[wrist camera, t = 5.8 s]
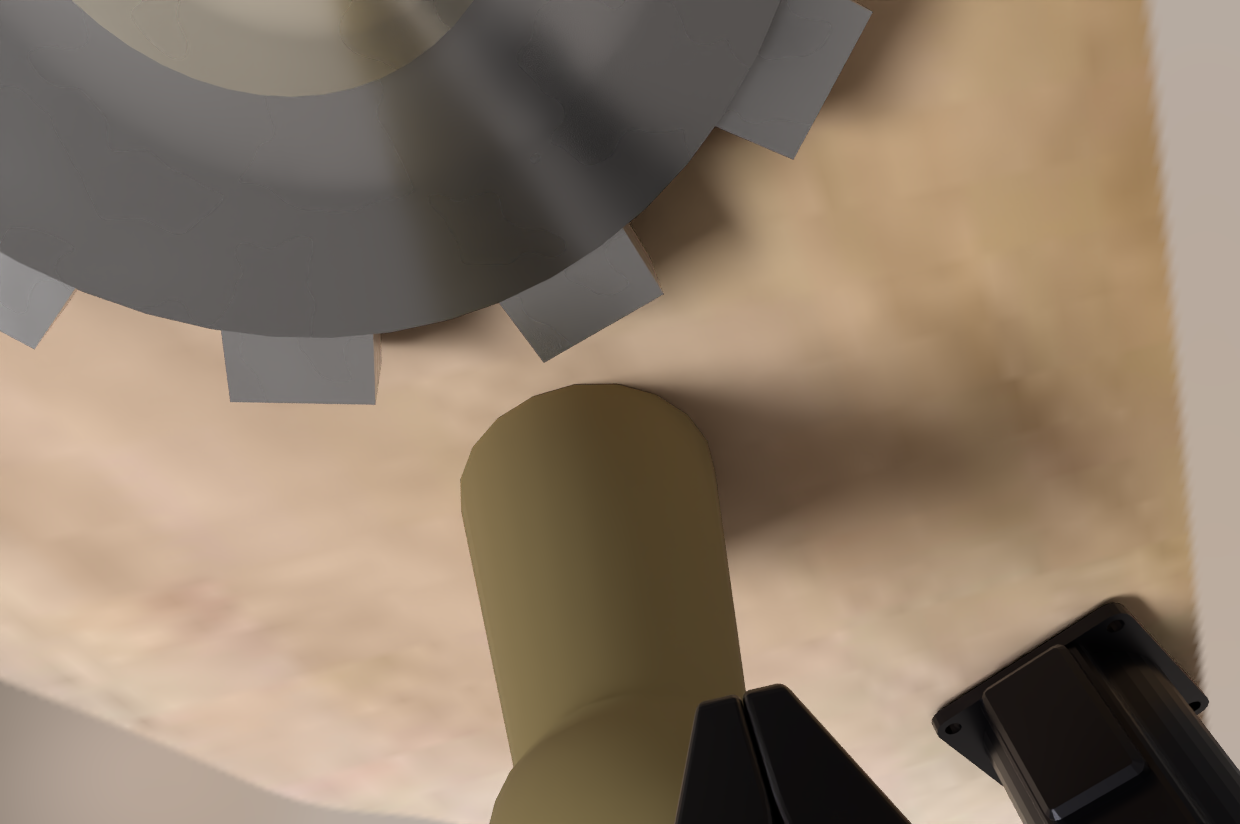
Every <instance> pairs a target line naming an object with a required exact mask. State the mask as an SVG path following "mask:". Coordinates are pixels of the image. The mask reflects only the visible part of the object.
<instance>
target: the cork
mask: <svg viewBox="0 0 1240 824" xmlns="http://www.w3.org/2000/svg"><path fill="white" fill-rule="evenodd" d="M460 482H461V512H462V517H463V522H464V527H465V532H466V537H467V542H468V547H469V551H470V556H471V561H472V566H473V571H474V576H475V581H476V586H477V591H478V595H479V600H480V605H481V610H482V615H483V620H484V625H485V630H486V635H487V639H488V644H489V649H490V654H491V659H492V664H493V669H494V674H495V679H496V683H497V688H498V693H499V698H500V703H501V708H502V713H503V718H504V723H505V727H506V732H507V737H508V742H509V747H510V752H511V757H512V762H513V766H514V767H513V769H512V770H511V771H510V773H509V775H508V777H507V779H506V781H505V783H504V785H503V787H502V789H501V791H500V793H499V795H498V797H497V799H496V801H495V804H494V808H493V812H492V816H491V820H490V824H674V822H675V816H676V811H677V806H678V800H679V795H680V790H681V784H682V779H683V774H684V768H685V763H686V758H687V752H688V747H689V742H690V736H691V731H692V726H693V720H694V715H695V711H696V708H697V706H698V705H699V704H700V703H701V702H703V701H706V700H711V699H715V698H719V697H723V696H727V695H731V694H732V695H737V696H739V697H740V698H741V700H742V697H743V694H744V693H745V692H746V690H745V683H744V675H743V668H742V661H741V654H740V647H739V640H738V632H737V625H736V618H735V611H734V604H733V597H732V590H731V582H730V575H729V568H728V561H727V554H726V547H725V539H724V532H723V525H722V518H721V511H720V504H719V497H718V489H717V482H716V475H715V470H714V466H713V462H712V458H711V454H710V450H709V446H708V442H707V441H706V439H705V438H704V437H703V435H702V434H701V433H700V431H699V430H698V428H697V427H696V426H695V424H694V423H693V422H692V420H691V419H690V418H689V416H688V415H687V414H685V413H684V412H682V411H681V410H679V409H678V408H676V407H674V406H673V405H671V404H670V403H668V402H667V401H665V400H664V399H662V398H661V397H659V396H658V395H655V394H652V393H648V392H644V391H641V390H637V389H633V388H630V387H626V386H622V385H619V384H592V385H572V386H568V387H565V388H561V389H558V390H554V391H551V392H547V393H544V394H540V395H537V396H534V397H532V398H530V399H528V400H527V401H525V402H523V403H522V404H520V405H519V406H517V407H515V408H514V409H512V410H511V411H509V412H507V413H506V414H504V415H503V416H501V417H499V418H498V419H497V420H496V421H495V422H494V423H493V424H492V426H491V427H490V428H489V429H488V430H487V431H486V433H485V434H484V435H483V436H482V437H481V438H480V440H479V441H478V442H477V443H476V444H475V445H474V447H473V448H472V451H471V453H470V456H469V459H468V461H467V464H466V466H465V469H464V472H463V474H462V477H461V480H460ZM742 703H743V701H742Z"/></svg>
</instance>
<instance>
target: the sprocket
mask: <svg viewBox="0 0 1240 824" xmlns="http://www.w3.org/2000/svg"><path fill="white" fill-rule="evenodd" d="M872 13H873V12H872V11H871V10H869V9H867V8H866V7H864V6H862V5H861V4H859V3H857V2H856V1H854V0H0V331H1V332H3V333H5V334H7V335H9V336H10V337H12V338H14V339H16V340H18V341H20V342H22V343H24V344H25V345H27V346H29V347H31V348H33V349H35V348H36V346H37V345H38V344H39V342H40V341H41V340H42V338H43V337H44V336H45V334H46V333H47V331H48V330H49V329H50V327H51V326H52V325H53V323H54V322H55V321H56V319H57V318H58V317H59V315H60V314H61V313H62V311H63V310H64V309H65V307H66V306H67V304H68V303H69V301H70V300H71V298H72V297H73V295H74V294H75V292H76V291H77V289H78V290H80V291H82V292H85V293H88V294H91V295H94V296H97V297H99V298H102V299H105V300H108V301H111V302H114V303H117V304H120V305H123V306H126V307H128V308H131V309H134V310H137V311H140V312H143V313H146V314H149V315H154V316H158V317H162V318H166V319H171V320H175V321H179V322H183V323H188V324H192V325H196V326H200V327H205V328H209V329H215V330H221V334H222V341H223V349H224V357H225V364H226V372H227V380H228V388H229V395H230V402H262V403H316V404H369V405H376V398H377V391H378V384H379V376H380V369H381V362H382V358H381V333H390V332H395V331H400V330H404V329H409V328H414V327H418V326H423V325H428V324H433V323H437V322H442V321H447V320H450V319H453V318H456V317H458V316H461V315H464V314H467V313H470V312H473V311H476V310H479V309H482V308H485V307H488V306H491V305H494V304H497V303H500V305H501V306H502V307H503V309H504V310H505V311H506V313H507V314H508V315H509V317H510V318H511V320H512V321H513V322H514V324H515V325H516V326H517V328H518V329H519V330H520V332H521V333H522V334H523V336H524V337H525V338H526V340H527V341H528V342H529V344H530V345H531V346H532V348H533V349H534V350H535V352H536V353H537V354H538V356H539V357H540V358H541V360H542V361H543V362H546V361H548V360H550V359H551V358H553V357H555V356H556V355H558V354H560V353H562V352H563V351H565V350H567V349H569V348H570V347H572V346H574V345H576V344H577V343H579V342H581V341H583V340H584V339H586V338H588V337H590V336H591V335H593V334H595V333H597V332H598V331H600V330H602V329H604V328H605V327H607V326H609V325H611V324H612V323H614V322H616V321H618V320H619V319H621V318H623V317H624V316H626V315H628V314H630V313H631V312H633V311H635V310H637V309H638V308H640V307H642V306H644V305H645V304H647V303H649V302H651V301H652V300H654V299H656V298H658V297H659V296H661V295H663V294H664V293H663V291H662V288H661V285H660V283H659V280H658V277H657V275H656V272H655V269H654V267H653V264H652V261H651V259H650V257H649V255H648V253H647V252H646V250H645V249H644V247H643V245H642V244H641V242H640V240H639V239H638V237H637V236H636V234H635V232H634V231H633V229H632V227H631V226H630V224H629V222H630V221H631V220H633V219H634V218H635V217H636V216H637V215H639V214H640V213H641V212H642V211H643V210H645V209H646V208H647V207H648V205H649V204H650V203H651V202H652V201H653V200H654V199H655V198H656V197H657V196H658V195H659V194H660V193H661V192H662V191H663V189H664V188H665V187H666V186H667V185H668V184H669V183H670V182H671V181H672V180H673V179H674V178H675V177H676V176H677V175H678V174H679V172H680V171H681V170H682V169H683V168H684V167H685V166H686V165H687V164H688V162H689V161H690V160H691V158H692V157H693V156H694V154H695V153H696V152H697V150H698V149H699V147H700V146H701V145H702V143H703V142H704V141H705V139H706V138H707V137H708V135H709V134H710V132H711V131H712V130H713V128H714V127H718V128H720V129H722V130H725V131H727V132H729V133H732V134H734V135H737V136H739V137H741V138H744V139H746V140H748V141H751V142H753V143H755V144H758V145H760V146H762V147H765V148H767V149H769V150H772V151H774V152H776V153H779V154H781V155H783V156H786V157H788V158H790V159H794V157H795V156H796V154H797V152H798V150H799V148H800V146H801V144H802V143H803V141H804V139H805V137H806V135H807V133H808V131H809V130H810V128H811V126H812V124H813V122H814V120H815V118H816V117H817V115H818V113H819V111H820V109H821V107H822V105H823V104H824V102H825V100H826V98H827V96H828V94H829V92H830V91H831V89H832V87H833V85H834V83H835V81H836V79H837V78H838V76H839V74H840V72H841V70H842V68H843V66H844V65H845V63H846V61H847V59H848V57H849V55H850V53H851V52H852V50H853V48H854V46H855V44H856V42H857V40H858V39H859V37H860V35H861V33H862V31H863V29H864V27H865V26H866V24H867V22H868V20H869V18H870V16H871V14H872Z"/></svg>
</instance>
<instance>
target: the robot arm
mask: <svg viewBox="0 0 1240 824" xmlns="http://www.w3.org/2000/svg"><path fill="white" fill-rule="evenodd" d="M742 701H743V703H742ZM1208 703H1209V700H1208V698H1207V697H1206V696H1205V694H1204V693H1203V692H1202V691H1201V689H1200V688H1199V687H1198V686H1197V685H1196V684H1195V683H1194V682H1193V680H1192V679H1191V678H1190V677H1189V676H1188V675H1187V674H1186V673H1185V672H1184V671H1183V670H1182V669H1181V667H1180V666H1179V665H1178V664H1177V663H1176V662H1175V661H1174V660H1173V659H1172V658H1171V657H1170V656H1169V655H1168V653H1167V652H1166V651H1165V650H1164V649H1163V648H1162V647H1161V646H1160V645H1159V644H1158V643H1157V642H1156V640H1155V639H1154V638H1153V637H1152V636H1151V635H1150V634H1149V633H1148V632H1147V631H1146V630H1145V629H1144V627H1143V626H1142V625H1141V624H1140V623H1139V622H1138V621H1137V620H1136V619H1135V618H1134V617H1133V616H1132V614H1131V613H1130V612H1129V611H1128V610H1127V609H1126V608H1125V607H1124V606H1123V605H1121V604H1120V603H1111V604H1107V605H1105V606H1102V607H1100V608H1099V609H1097V610H1096V611H1094V612H1093V613H1091V614H1090V615H1088V616H1086V617H1085V618H1083V619H1082V620H1080V621H1079V622H1077V623H1076V624H1074V625H1072V626H1071V627H1069V628H1068V629H1066V630H1065V631H1063V632H1061V633H1060V634H1058V635H1057V636H1055V637H1054V638H1052V639H1051V640H1049V641H1047V642H1046V643H1044V644H1043V645H1041V646H1040V647H1038V648H1037V649H1035V650H1033V651H1032V652H1030V653H1029V654H1027V655H1026V656H1024V657H1023V658H1021V659H1019V660H1018V661H1016V662H1015V663H1013V664H1012V665H1010V666H1009V667H1007V668H1005V669H1004V670H1002V671H1001V672H999V673H998V674H996V675H995V676H993V677H991V678H990V679H988V680H987V681H985V682H984V683H982V684H981V685H979V686H977V687H976V688H974V689H973V690H971V691H970V692H968V693H967V694H965V695H963V696H962V697H960V698H959V699H957V700H956V701H954V702H953V703H951V704H949V705H948V706H946V707H945V708H943V709H942V710H940V711H939V712H938V713H936V714H935V715H934V717H933V719H932V725H933V727H934V729H935V731H936V733H937V735H938V736H939V738H941V739H942V740H943V741H945V742H946V743H947V744H949V745H950V746H951V747H952V748H954V749H955V750H956V751H958V752H959V753H960V754H962V755H963V756H964V757H966V758H967V759H968V760H969V761H971V762H972V763H973V764H975V765H976V766H977V767H979V768H980V769H981V770H983V771H984V772H985V773H986V774H988V775H989V776H990V777H992V778H993V779H994V780H996V781H997V782H998V783H999V784H1001V785H1002V786H1003V787H1004V788H1005V790H1006V792H1007V794H1008V796H1009V798H1010V799H1011V801H1012V803H1013V805H1014V807H1015V809H1016V811H1017V813H1018V815H1019V817H1020V818H1021V820H1022V822H1023V824H1240V771H1239V769H1238V768H1237V767H1236V766H1235V764H1234V763H1233V762H1232V760H1231V759H1230V758H1229V757H1228V755H1227V754H1226V753H1225V751H1224V750H1223V749H1222V747H1221V746H1220V745H1219V744H1218V742H1217V741H1216V740H1215V738H1214V737H1213V736H1212V734H1211V733H1210V732H1209V731H1208V729H1207V728H1206V727H1205V725H1204V724H1203V723H1202V721H1201V720H1200V719H1199V718H1198V716H1197V715H1198V714H1199V713H1201V712H1202V711H1203V710H1205V708H1206V707H1207V706H1208ZM674 824H911V822H910V821H909V820H908V819H907V818H906V817H905V816H904V815H903V814H902V813H901V811H900V810H899V809H898V808H897V807H896V806H895V805H894V804H893V803H892V801H891V800H890V799H889V798H888V797H887V796H886V795H885V794H884V793H883V792H882V790H881V789H880V788H879V787H878V786H877V785H876V784H875V783H874V782H873V780H872V779H871V778H870V777H869V776H868V775H867V774H866V773H865V772H864V771H863V769H862V768H861V767H860V766H859V765H858V764H857V763H856V762H855V761H854V759H853V758H852V757H851V756H850V755H849V754H848V753H847V752H846V751H845V750H844V748H843V747H842V746H841V745H840V744H839V743H838V742H837V741H836V740H835V738H834V737H833V736H832V735H831V734H830V733H829V732H828V731H827V730H826V729H825V727H824V726H823V725H822V724H821V723H820V722H819V721H818V720H817V719H816V717H815V716H814V715H813V714H812V713H811V712H810V711H809V710H808V709H807V708H806V706H805V705H804V704H803V703H802V702H801V701H800V700H799V699H798V698H797V696H796V695H795V694H794V693H793V692H792V691H791V690H790V689H789V688H788V687H786V686H785V685H783V684H773V685H769V686H765V687H761V688H756V689H752V690H748V691H747V692H745V693H744V694H743V697H742V700H741V698H740V697H739V696H737V695H732V694H731V695H727V696H723V697H719V698H715V699H711V700H706V701H703V702H701V703H700V704H699V705H698V706H697V708H696V711H695V715H694V720H693V726H692V731H691V736H690V742H689V747H688V752H687V758H686V763H685V768H684V774H683V779H682V784H681V790H680V795H679V800H678V806H677V811H676V816H675V822H674Z"/></svg>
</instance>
